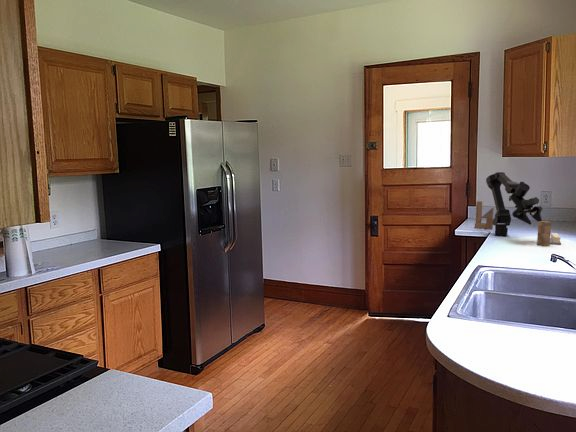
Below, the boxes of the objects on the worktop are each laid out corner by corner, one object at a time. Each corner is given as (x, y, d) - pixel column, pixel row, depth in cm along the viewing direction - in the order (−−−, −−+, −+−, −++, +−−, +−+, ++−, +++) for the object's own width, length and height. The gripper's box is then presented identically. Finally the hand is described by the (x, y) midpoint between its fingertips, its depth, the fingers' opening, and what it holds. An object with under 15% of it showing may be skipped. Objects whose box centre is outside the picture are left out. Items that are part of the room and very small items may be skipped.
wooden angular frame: (491, 229, 324) (492, 202, 322) (474, 228, 330) (475, 201, 328) (492, 229, 327) (494, 201, 325) (475, 227, 333) (476, 200, 331)
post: (536, 245, 270) (538, 221, 269) (542, 244, 272) (543, 220, 271) (544, 246, 267) (545, 222, 265) (549, 245, 269) (551, 221, 267)
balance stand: (540, 243, 274) (540, 236, 274) (538, 239, 289) (538, 232, 289) (561, 244, 271) (561, 237, 270) (557, 240, 285) (557, 233, 285)
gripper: (518, 193, 271) (535, 215, 262) (540, 191, 279) (557, 213, 271) (505, 206, 279) (521, 228, 270) (527, 204, 287) (543, 225, 279)
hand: (536, 223), depth 272 cm, fingers open, 9 cm apart
